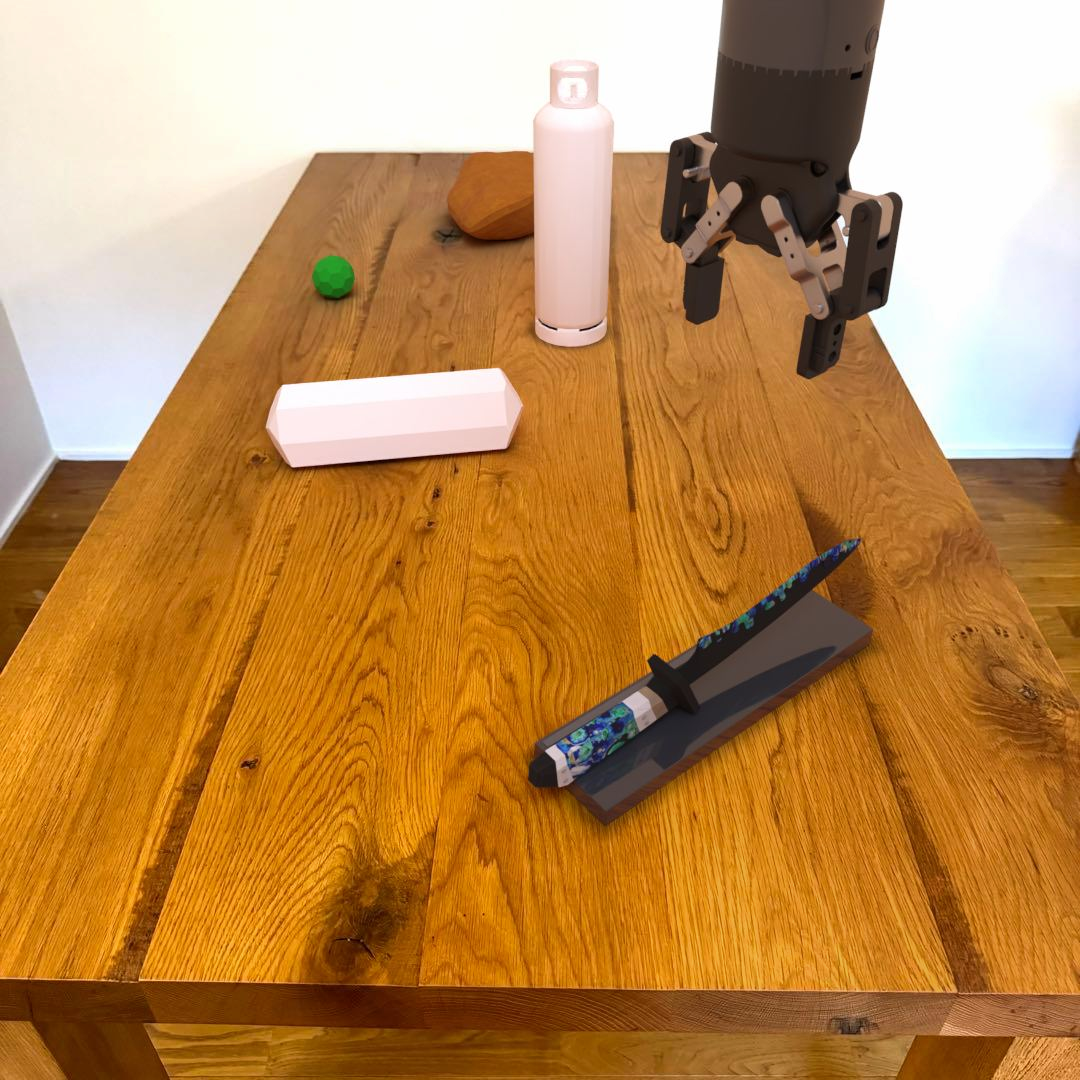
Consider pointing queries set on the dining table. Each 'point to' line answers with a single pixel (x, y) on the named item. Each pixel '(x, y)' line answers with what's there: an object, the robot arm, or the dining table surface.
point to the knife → (675, 680)
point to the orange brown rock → (494, 195)
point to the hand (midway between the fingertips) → (755, 345)
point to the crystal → (393, 417)
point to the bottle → (572, 209)
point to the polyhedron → (333, 276)
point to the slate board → (715, 704)
